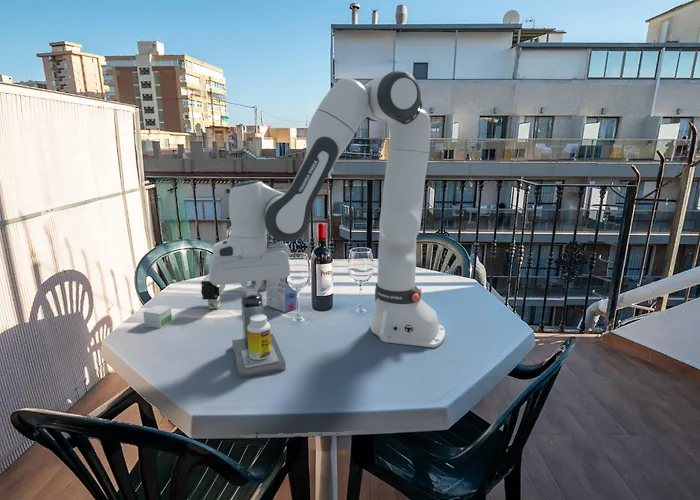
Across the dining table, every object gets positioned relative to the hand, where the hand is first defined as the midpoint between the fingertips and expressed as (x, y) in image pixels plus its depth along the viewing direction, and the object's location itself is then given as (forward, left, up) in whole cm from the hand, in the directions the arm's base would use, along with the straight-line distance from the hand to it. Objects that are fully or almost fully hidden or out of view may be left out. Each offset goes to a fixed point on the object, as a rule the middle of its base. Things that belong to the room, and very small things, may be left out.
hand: (251, 296), depth 99 cm
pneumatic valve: (+29, -17, -15) cm, 37 cm away
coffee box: (+27, -41, -15) cm, 51 cm away
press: (-4, +4, -15) cm, 16 cm away
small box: (+36, 0, -15) cm, 39 cm away
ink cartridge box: (+9, -27, -15) cm, 32 cm away
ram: (0, 0, -12) cm, 12 cm away
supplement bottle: (-7, +6, -12) cm, 15 cm away
